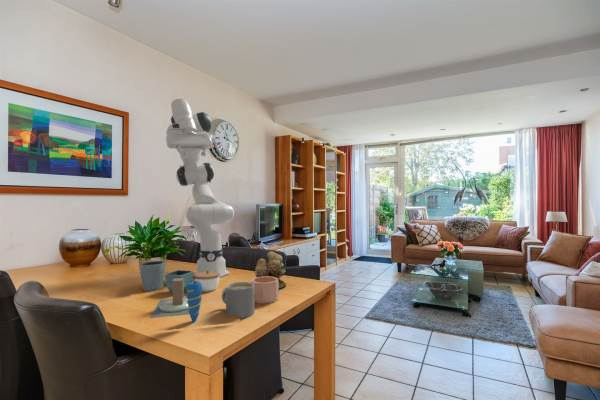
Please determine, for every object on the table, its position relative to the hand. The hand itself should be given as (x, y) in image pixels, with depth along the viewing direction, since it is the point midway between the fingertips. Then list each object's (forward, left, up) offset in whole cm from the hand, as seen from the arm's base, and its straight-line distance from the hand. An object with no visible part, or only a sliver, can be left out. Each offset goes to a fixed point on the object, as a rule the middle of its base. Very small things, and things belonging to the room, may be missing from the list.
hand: (193, 155), depth 138 cm
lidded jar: (+2, +6, -61) cm, 62 cm away
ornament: (+39, +3, -61) cm, 73 cm away
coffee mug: (+33, +17, -61) cm, 72 cm away
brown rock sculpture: (+5, +34, -61) cm, 70 cm away
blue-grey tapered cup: (-10, -19, -61) cm, 65 cm away
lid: (+22, -4, -60) cm, 65 cm away
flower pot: (+1, -6, -61) cm, 62 cm away
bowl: (+21, +29, -61) cm, 71 cm away
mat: (+22, -4, -61) cm, 65 cm away
